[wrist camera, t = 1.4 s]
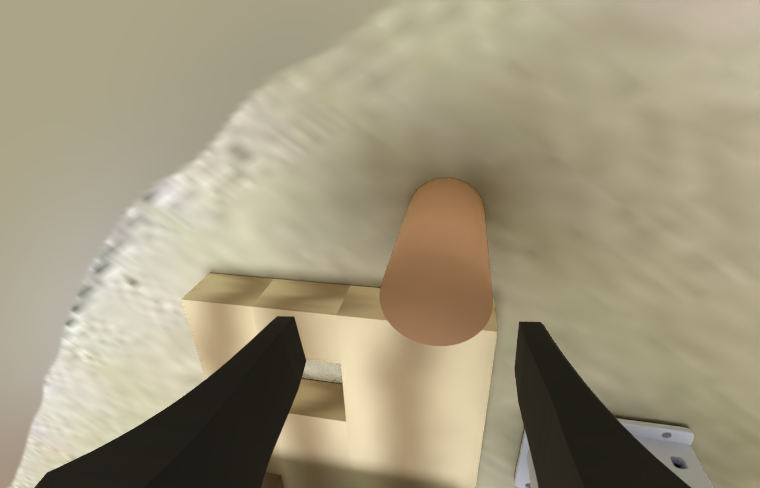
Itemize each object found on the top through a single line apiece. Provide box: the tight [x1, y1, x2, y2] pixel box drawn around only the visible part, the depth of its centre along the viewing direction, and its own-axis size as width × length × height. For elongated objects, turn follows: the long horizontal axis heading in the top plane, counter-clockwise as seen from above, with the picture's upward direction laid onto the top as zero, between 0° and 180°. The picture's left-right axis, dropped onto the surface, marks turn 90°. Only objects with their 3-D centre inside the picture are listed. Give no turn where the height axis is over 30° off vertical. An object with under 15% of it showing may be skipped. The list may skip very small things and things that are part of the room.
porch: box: [181, 273, 498, 488], centre depth 26 cm, size 18×18×7 cm
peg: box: [379, 178, 493, 346], centre depth 18 cm, size 4×4×8 cm
